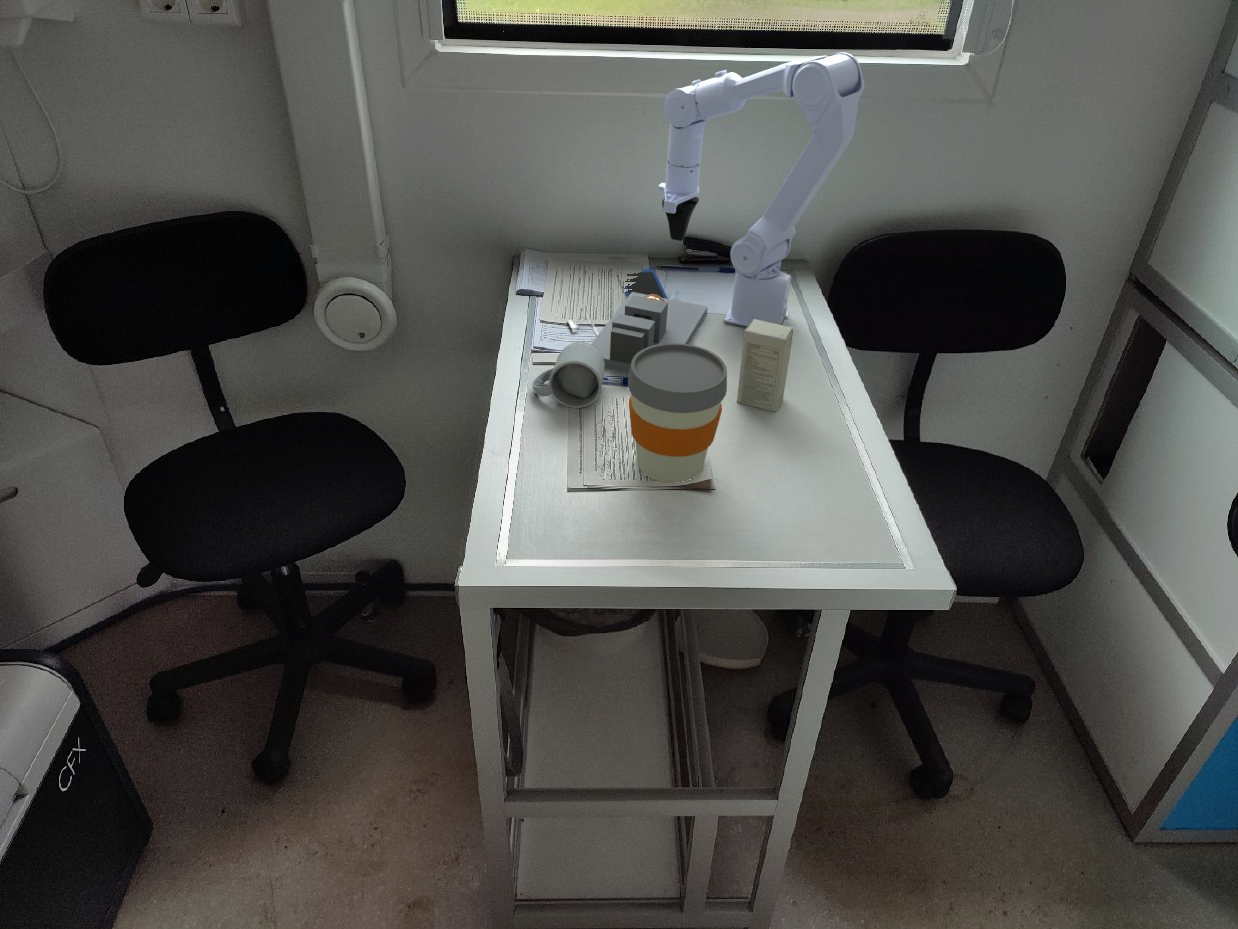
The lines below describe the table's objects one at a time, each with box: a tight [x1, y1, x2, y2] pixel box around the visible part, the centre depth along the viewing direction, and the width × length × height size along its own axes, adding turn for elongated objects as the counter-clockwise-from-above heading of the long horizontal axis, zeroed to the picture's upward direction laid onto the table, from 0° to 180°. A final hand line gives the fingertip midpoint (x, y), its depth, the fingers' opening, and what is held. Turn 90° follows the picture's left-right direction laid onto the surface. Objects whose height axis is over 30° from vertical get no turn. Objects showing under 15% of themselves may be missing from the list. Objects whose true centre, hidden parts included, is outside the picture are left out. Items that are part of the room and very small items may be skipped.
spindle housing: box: [590, 292, 708, 373], centre depth 141 cm, size 14×24×7 cm, turn 161°
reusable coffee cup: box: [627, 343, 728, 484], centre depth 111 cm, size 12×12×15 cm
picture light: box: [567, 316, 600, 337], centre depth 145 cm, size 14×4×2 cm, turn 16°
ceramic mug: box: [531, 341, 606, 409], centre depth 127 cm, size 11×8×8 cm
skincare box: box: [736, 319, 795, 412], centre depth 126 cm, size 6×4×12 cm
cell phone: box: [622, 268, 669, 299], centre depth 159 cm, size 7×14×1 cm, turn 10°
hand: (677, 238), depth 153 cm, fingers closed
